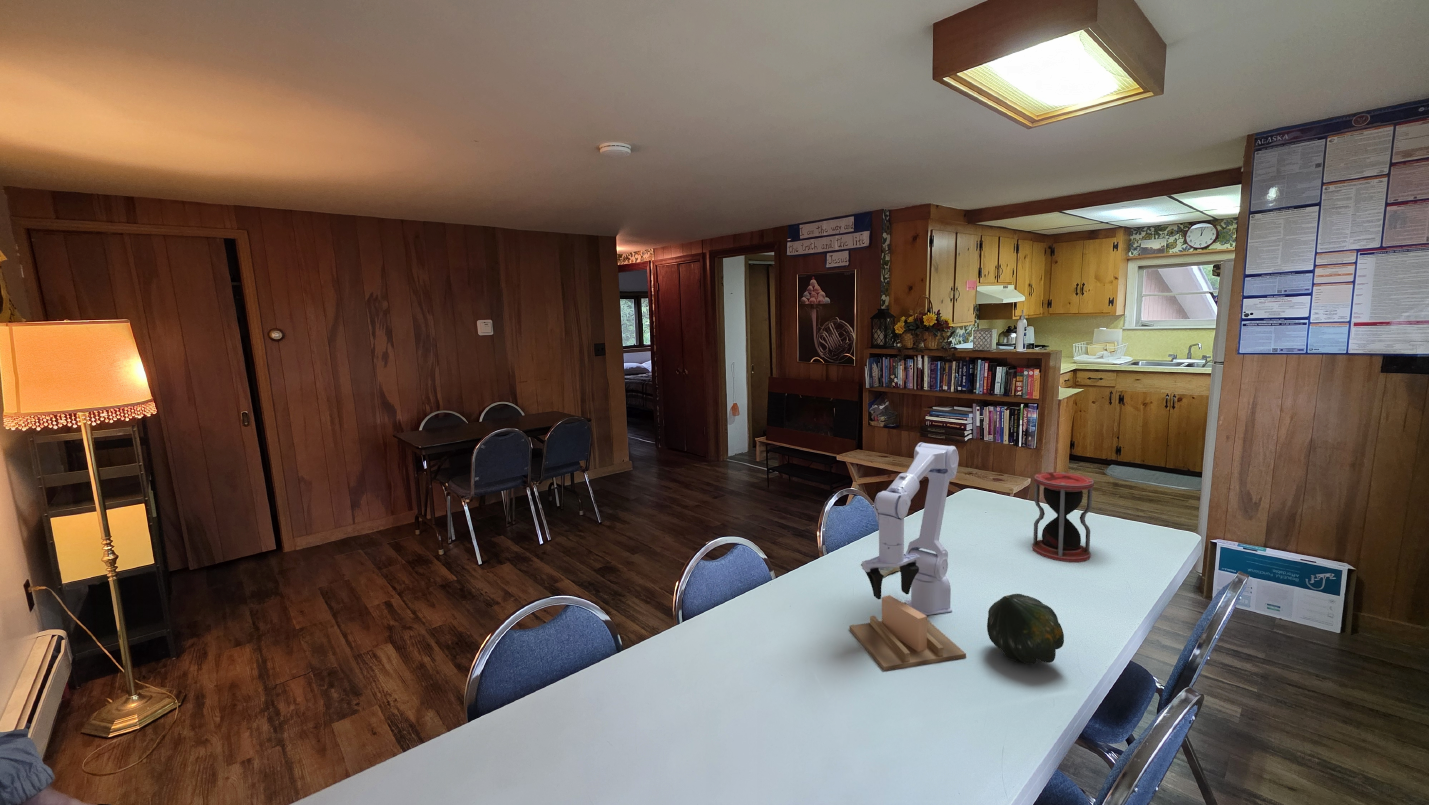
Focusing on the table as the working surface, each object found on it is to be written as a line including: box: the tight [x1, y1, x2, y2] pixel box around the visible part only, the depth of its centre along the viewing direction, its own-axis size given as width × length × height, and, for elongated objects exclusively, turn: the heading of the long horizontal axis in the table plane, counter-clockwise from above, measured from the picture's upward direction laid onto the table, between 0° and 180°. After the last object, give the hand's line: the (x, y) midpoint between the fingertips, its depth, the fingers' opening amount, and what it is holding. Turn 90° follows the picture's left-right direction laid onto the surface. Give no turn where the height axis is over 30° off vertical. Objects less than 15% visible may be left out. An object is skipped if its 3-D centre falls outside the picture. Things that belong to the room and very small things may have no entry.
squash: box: [986, 593, 1065, 665], centre depth 125 cm, size 14×15×15 cm
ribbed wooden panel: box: [848, 615, 967, 672], centre depth 133 cm, size 20×18×3 cm
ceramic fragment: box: [860, 559, 900, 578], centre depth 174 cm, size 11×3×10 cm
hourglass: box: [1031, 471, 1095, 564], centre depth 180 cm, size 16×16×25 cm
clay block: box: [881, 594, 928, 652], centre depth 133 cm, size 2×12×8 cm, turn 26°
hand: (891, 595), depth 136 cm, fingers open, 7 cm apart
